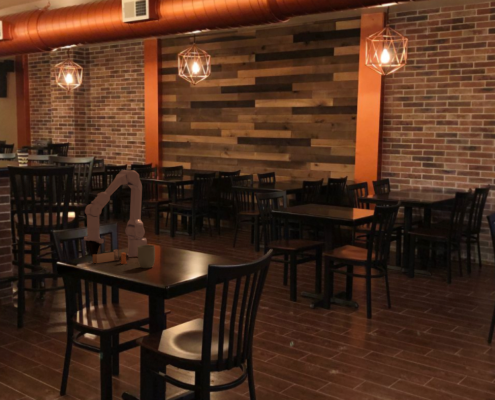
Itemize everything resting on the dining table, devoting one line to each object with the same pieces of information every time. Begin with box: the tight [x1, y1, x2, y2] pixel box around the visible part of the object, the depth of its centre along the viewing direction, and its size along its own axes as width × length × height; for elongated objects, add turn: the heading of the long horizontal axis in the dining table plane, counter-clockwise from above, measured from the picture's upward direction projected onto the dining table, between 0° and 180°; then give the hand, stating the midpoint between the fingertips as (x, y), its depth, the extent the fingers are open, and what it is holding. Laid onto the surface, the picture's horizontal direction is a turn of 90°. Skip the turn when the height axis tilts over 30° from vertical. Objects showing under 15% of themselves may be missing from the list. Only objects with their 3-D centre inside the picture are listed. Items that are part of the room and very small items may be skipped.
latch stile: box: [120, 252, 128, 265], centre depth 282 cm, size 3×3×5 cm
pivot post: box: [112, 249, 120, 261], centre depth 291 cm, size 3×3×5 cm
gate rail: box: [92, 251, 115, 264], centre depth 286 cm, size 11×2×4 cm, turn 136°
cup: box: [137, 244, 156, 269], centre depth 271 cm, size 8×8×10 cm
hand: (94, 256), depth 287 cm, fingers closed
